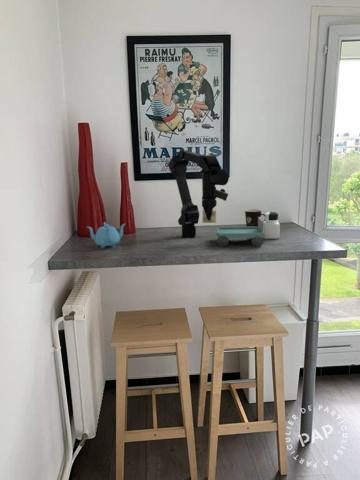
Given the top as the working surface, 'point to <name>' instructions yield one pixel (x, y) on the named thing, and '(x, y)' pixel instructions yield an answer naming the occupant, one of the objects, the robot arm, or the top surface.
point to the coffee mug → (252, 217)
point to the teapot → (107, 235)
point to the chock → (213, 217)
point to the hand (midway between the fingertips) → (209, 218)
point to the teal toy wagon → (241, 234)
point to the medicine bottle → (271, 226)
